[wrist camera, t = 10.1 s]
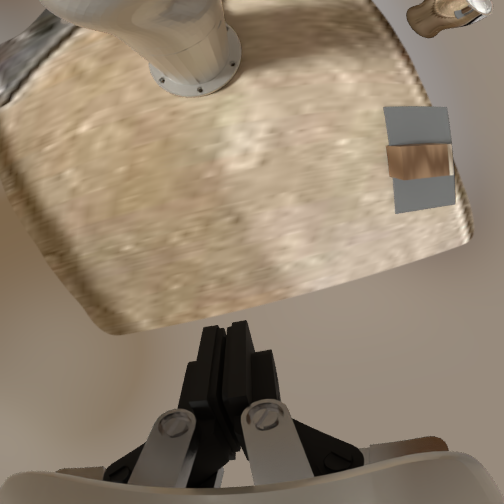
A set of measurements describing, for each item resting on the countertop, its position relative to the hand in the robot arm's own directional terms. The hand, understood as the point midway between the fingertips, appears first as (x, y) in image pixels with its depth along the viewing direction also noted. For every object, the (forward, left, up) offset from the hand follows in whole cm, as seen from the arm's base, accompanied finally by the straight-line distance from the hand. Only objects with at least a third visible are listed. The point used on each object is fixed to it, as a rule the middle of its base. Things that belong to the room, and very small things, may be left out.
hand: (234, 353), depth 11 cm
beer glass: (-26, +33, -32) cm, 53 cm away
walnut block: (-3, +22, -29) cm, 37 cm away
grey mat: (-3, +28, -32) cm, 43 cm away
